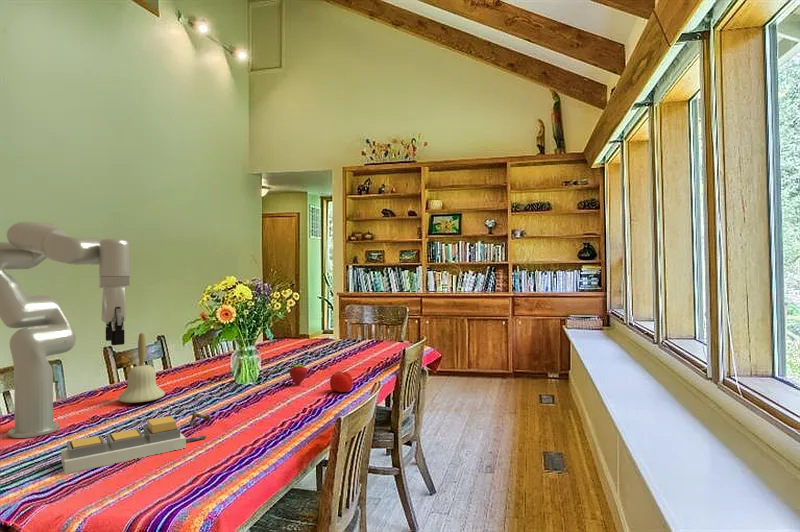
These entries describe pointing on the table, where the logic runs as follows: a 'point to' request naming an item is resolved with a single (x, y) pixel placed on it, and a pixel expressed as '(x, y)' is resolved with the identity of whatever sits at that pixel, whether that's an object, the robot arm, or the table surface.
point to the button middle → (124, 435)
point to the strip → (122, 449)
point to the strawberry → (298, 373)
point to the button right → (161, 424)
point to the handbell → (141, 380)
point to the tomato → (341, 382)
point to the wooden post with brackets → (199, 417)
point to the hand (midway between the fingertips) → (114, 342)
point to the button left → (85, 442)
